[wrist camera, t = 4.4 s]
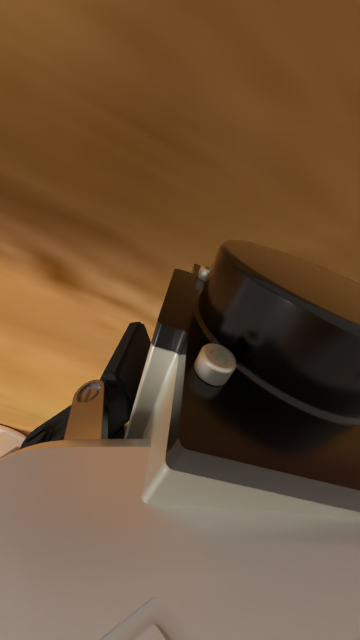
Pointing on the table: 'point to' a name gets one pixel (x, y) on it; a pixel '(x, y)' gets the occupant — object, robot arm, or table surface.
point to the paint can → (9, 439)
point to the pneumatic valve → (254, 387)
